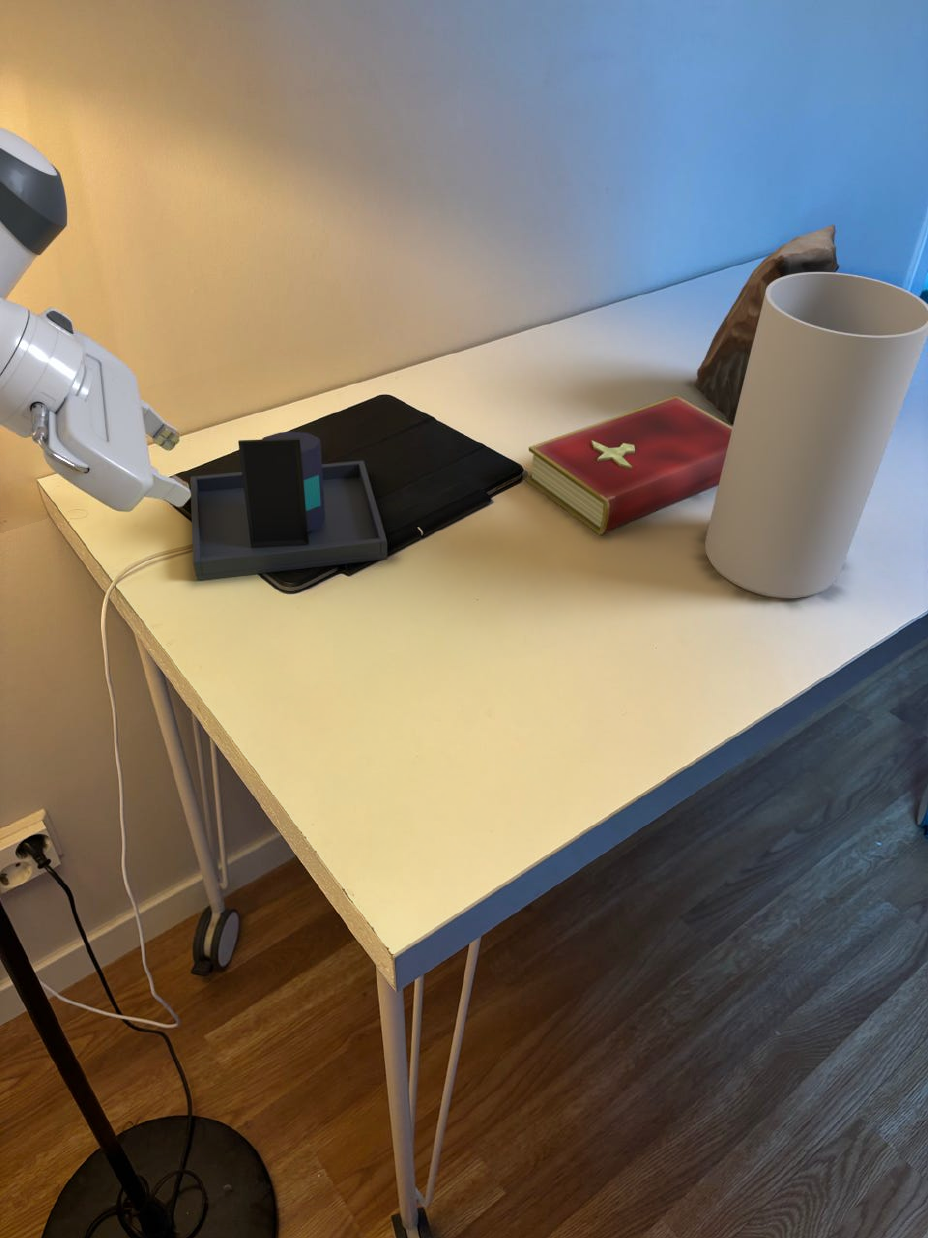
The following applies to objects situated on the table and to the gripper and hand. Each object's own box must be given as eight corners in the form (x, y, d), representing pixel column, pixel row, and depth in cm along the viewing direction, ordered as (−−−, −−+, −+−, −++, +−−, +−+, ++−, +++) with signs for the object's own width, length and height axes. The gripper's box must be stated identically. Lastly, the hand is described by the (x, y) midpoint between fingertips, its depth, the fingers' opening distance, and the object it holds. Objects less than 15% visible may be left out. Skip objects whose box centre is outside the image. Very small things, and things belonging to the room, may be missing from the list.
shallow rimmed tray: (196, 581, 85) (193, 562, 84) (193, 494, 95) (190, 476, 94) (387, 559, 88) (387, 540, 87) (364, 477, 99) (363, 460, 97)
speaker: (308, 555, 87) (297, 450, 81) (249, 548, 88) (234, 443, 82) (336, 516, 93) (328, 416, 87) (280, 510, 94) (268, 410, 88)
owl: (792, 383, 118) (839, 216, 105) (825, 434, 108) (881, 258, 95) (691, 381, 117) (726, 213, 104) (716, 433, 108) (757, 256, 95)
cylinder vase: (867, 585, 87) (970, 325, 71) (752, 615, 84) (833, 347, 67) (785, 512, 96) (860, 264, 80) (678, 535, 92) (734, 281, 76)
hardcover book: (750, 474, 101) (759, 439, 99) (602, 537, 92) (608, 500, 89) (670, 426, 109) (677, 392, 106) (525, 480, 99) (529, 444, 96)
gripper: (57, 412, 67) (218, 507, 76) (54, 298, 81) (189, 389, 90) (6, 475, 68) (169, 561, 77) (13, 353, 83) (149, 437, 92)
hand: (180, 468), depth 84 cm, fingers open, 8 cm apart
